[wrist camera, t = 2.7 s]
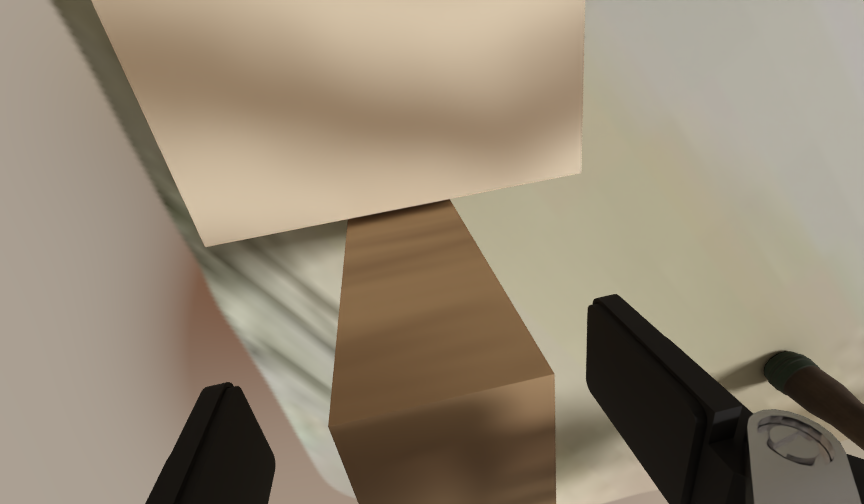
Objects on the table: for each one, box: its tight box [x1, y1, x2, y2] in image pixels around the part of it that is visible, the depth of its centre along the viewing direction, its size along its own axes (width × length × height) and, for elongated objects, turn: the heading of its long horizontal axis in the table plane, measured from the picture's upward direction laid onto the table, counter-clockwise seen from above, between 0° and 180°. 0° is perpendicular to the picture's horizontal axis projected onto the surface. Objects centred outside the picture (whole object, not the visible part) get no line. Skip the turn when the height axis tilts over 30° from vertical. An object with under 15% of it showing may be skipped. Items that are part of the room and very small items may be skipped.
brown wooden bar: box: [328, 199, 556, 504], centre depth 16 cm, size 4×4×18 cm
